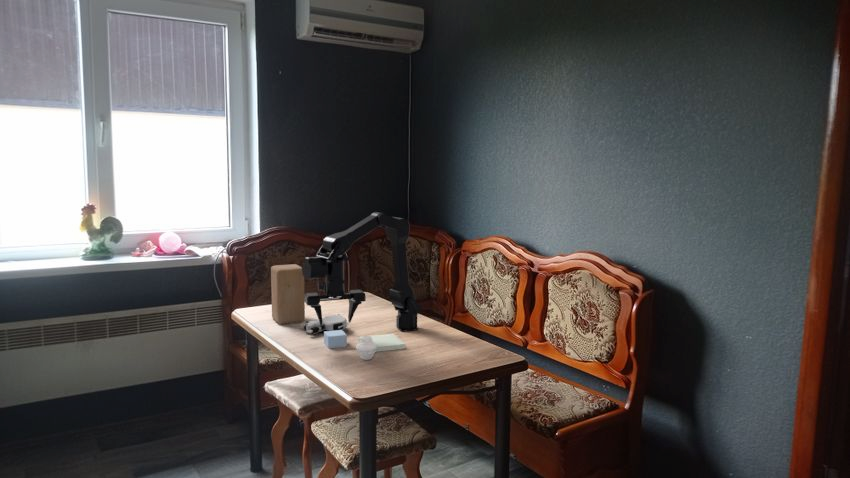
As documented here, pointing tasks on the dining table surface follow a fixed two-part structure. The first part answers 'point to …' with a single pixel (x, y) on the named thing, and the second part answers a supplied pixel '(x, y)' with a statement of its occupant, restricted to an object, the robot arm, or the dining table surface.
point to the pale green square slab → (387, 342)
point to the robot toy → (326, 324)
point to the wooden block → (287, 294)
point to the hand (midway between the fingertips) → (335, 323)
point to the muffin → (366, 348)
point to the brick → (335, 339)
